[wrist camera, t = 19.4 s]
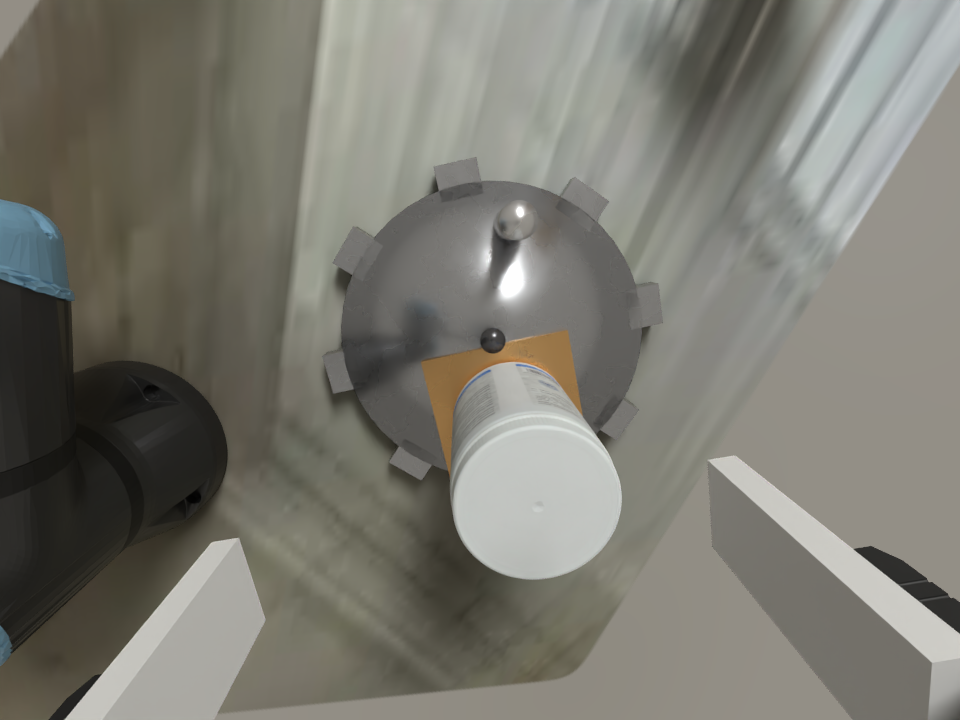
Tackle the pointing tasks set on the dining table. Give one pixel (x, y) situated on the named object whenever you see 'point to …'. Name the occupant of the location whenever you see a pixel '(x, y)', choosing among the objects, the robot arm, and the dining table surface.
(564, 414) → the supplement tub
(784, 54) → the dining table surface
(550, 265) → the sprocket
